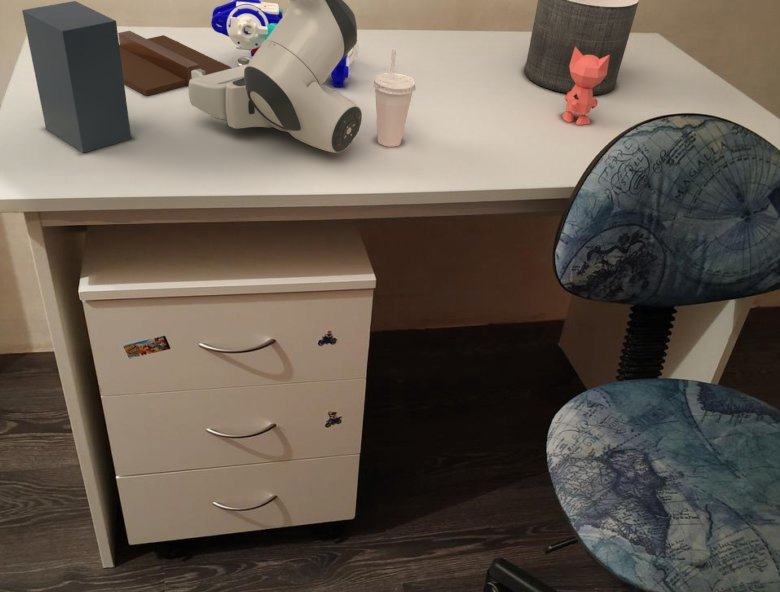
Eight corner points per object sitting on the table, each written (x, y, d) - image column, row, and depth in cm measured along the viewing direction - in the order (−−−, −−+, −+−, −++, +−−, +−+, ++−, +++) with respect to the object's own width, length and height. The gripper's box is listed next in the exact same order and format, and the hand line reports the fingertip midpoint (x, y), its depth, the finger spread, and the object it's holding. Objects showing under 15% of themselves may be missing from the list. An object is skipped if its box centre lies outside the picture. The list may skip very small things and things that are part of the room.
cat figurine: (599, 119, 142) (618, 49, 134) (589, 132, 137) (608, 61, 129) (561, 109, 144) (577, 39, 136) (549, 121, 139) (566, 50, 131)
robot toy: (362, 23, 133) (209, 9, 129) (356, 95, 141) (211, 84, 137) (354, -5, 145) (213, -18, 141) (349, 63, 153) (215, 52, 149)
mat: (146, 96, 132) (145, 90, 131) (78, 59, 141) (77, 53, 140) (232, 73, 142) (232, 67, 142) (164, 40, 152) (163, 35, 151)
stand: (83, 153, 115) (62, 31, 104) (45, 129, 119) (21, 9, 108) (131, 138, 120) (116, 20, 109) (93, 116, 124) (75, 0, 113)
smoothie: (365, 133, 128) (371, 43, 119) (403, 132, 130) (412, 43, 121) (374, 150, 124) (381, 58, 115) (414, 150, 125) (424, 58, 116)
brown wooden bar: (188, 81, 135) (187, 67, 134) (119, 46, 144) (118, 32, 143) (199, 78, 137) (199, 64, 135) (131, 44, 146) (129, 30, 144)
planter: (622, 100, 149) (648, 11, 139) (528, 90, 149) (546, 0, 138) (607, 67, 163) (629, -17, 152) (520, 57, 162) (536, -28, 152)
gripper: (325, 61, 128) (267, 36, 134) (223, 89, 116) (165, 60, 122) (323, 100, 132) (267, 74, 138) (225, 131, 120) (169, 101, 126)
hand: (218, 68), depth 130 cm, fingers open, 8 cm apart
